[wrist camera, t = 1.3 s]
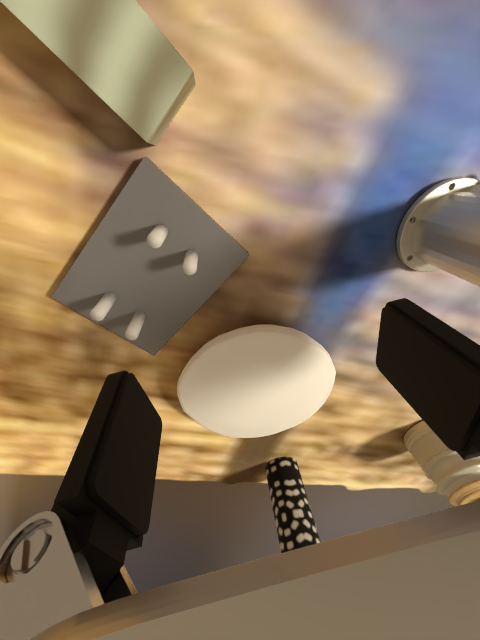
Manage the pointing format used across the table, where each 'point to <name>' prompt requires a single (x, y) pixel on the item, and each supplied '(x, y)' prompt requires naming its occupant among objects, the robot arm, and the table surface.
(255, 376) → the plate
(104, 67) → the pale green rectangular block
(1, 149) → the table surface
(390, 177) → the table surface
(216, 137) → the table surface
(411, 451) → the jar
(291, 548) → the spotted tube
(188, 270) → the peg stand
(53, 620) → the robot arm
